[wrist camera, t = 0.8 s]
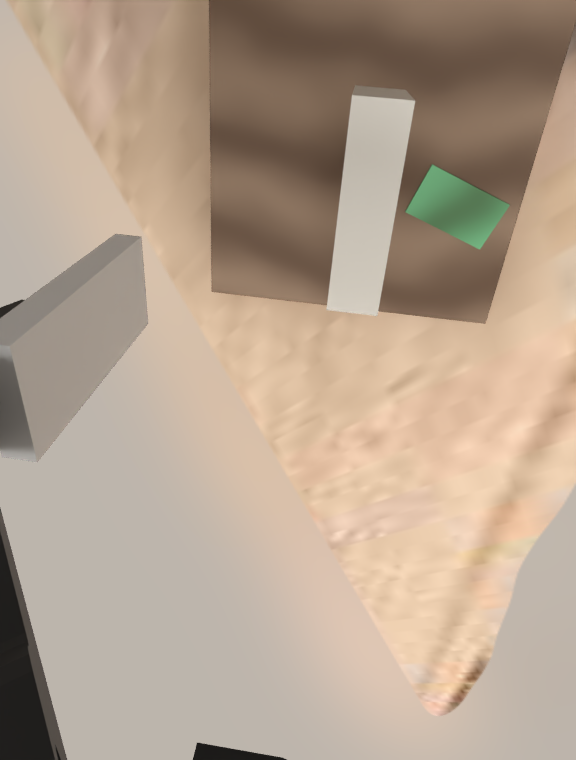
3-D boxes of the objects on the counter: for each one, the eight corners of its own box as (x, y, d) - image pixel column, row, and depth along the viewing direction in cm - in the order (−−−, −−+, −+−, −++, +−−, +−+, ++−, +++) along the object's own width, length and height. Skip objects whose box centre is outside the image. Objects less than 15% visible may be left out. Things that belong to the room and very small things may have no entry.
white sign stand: (357, 78, 31) (351, 95, 20) (398, 82, 31) (415, 100, 20) (330, 294, 38) (316, 389, 28) (364, 298, 38) (363, 395, 27)
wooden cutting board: (217, -48, 30) (207, -54, 28) (577, -22, 29) (591, -27, 27) (218, 281, 41) (211, 292, 39) (480, 312, 40) (485, 324, 38)
